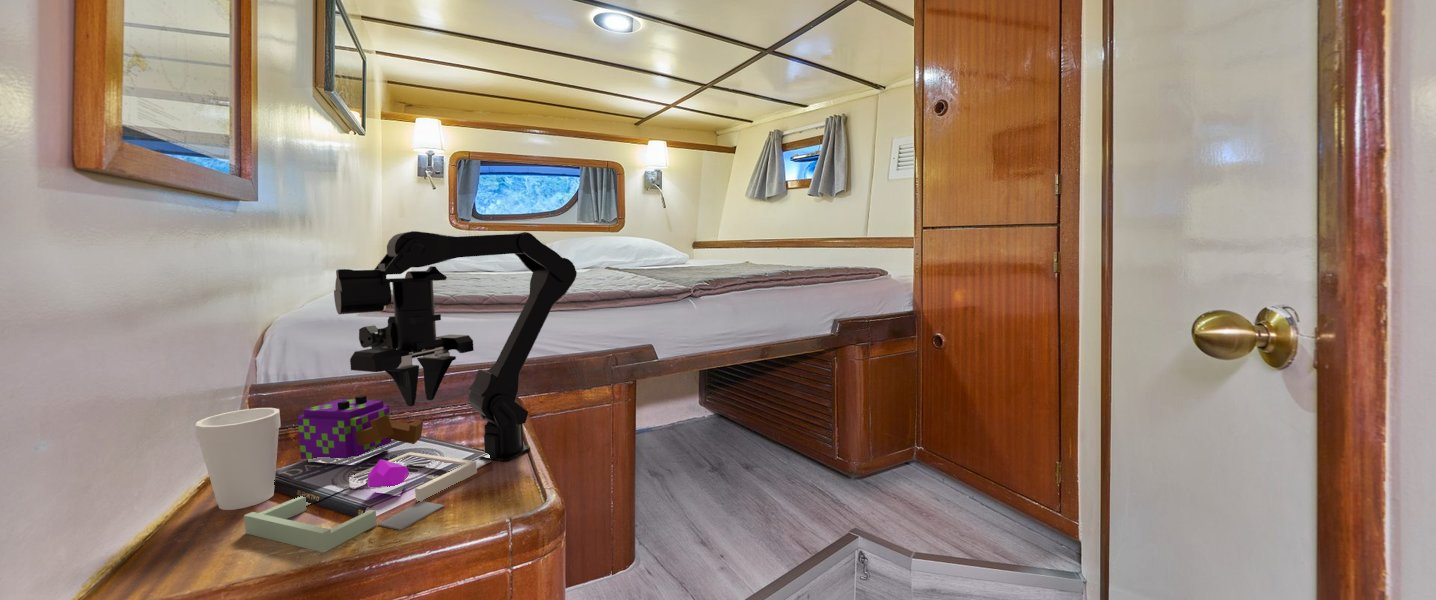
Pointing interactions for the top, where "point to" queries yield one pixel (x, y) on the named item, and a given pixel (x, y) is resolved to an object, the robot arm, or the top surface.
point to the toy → (351, 428)
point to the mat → (410, 515)
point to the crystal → (387, 474)
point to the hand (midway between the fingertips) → (420, 402)
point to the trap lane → (324, 539)
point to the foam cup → (240, 455)
